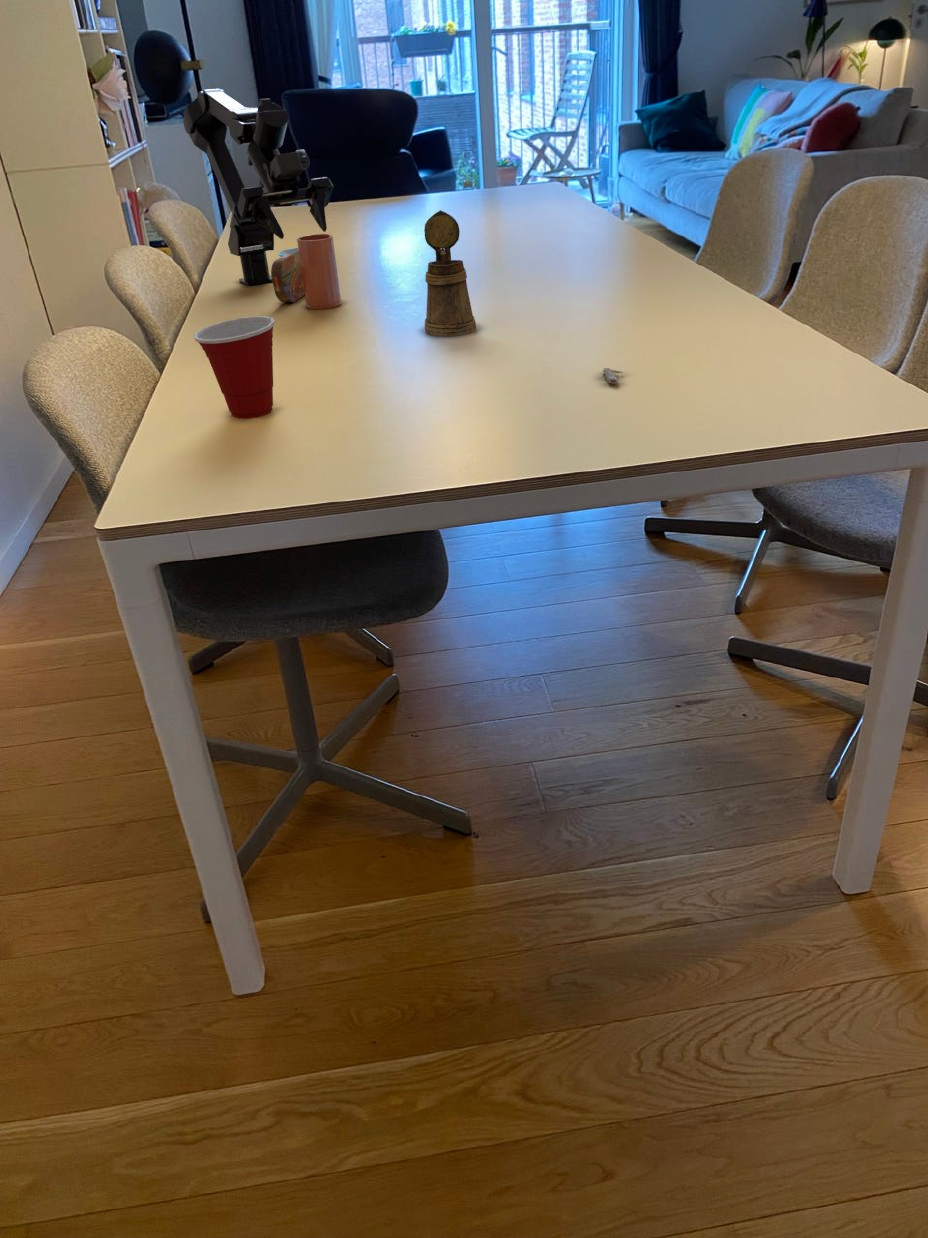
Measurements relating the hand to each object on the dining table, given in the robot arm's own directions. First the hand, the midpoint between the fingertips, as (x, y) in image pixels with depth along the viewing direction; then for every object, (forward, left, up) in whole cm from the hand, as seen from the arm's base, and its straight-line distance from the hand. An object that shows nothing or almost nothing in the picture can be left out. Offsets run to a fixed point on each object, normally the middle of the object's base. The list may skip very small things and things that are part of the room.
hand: (304, 233), depth 175 cm
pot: (+4, 0, -13) cm, 13 cm away
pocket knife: (+79, +13, -12) cm, 81 cm away
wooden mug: (+37, +10, -13) cm, 40 cm away
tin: (-6, -2, -13) cm, 14 cm away
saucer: (-42, +15, -13) cm, 47 cm away
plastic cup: (+57, -34, -13) cm, 67 cm away
